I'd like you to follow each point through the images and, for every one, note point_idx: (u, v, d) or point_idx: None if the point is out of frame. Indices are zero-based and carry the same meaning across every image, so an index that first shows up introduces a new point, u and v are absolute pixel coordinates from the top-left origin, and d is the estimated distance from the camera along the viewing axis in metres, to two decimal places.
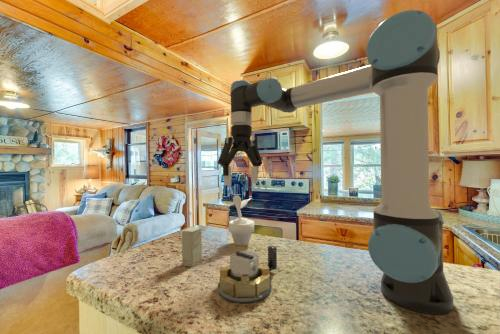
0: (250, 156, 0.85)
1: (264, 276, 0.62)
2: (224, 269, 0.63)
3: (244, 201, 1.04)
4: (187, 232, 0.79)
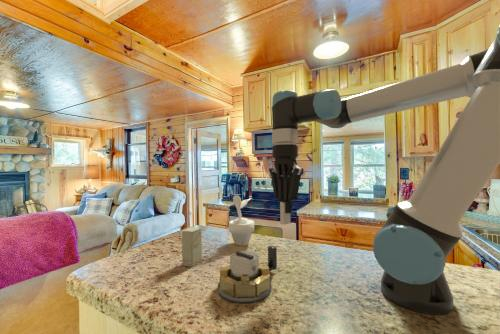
0: None
1: (264, 276, 0.62)
2: (224, 269, 0.63)
3: (244, 201, 1.04)
4: (187, 232, 0.79)
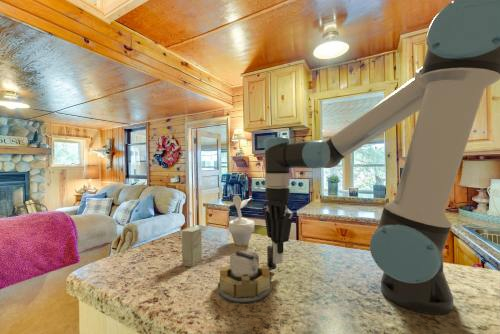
0: None
1: (264, 276, 0.62)
2: (224, 269, 0.63)
3: (244, 201, 1.04)
4: (187, 232, 0.79)
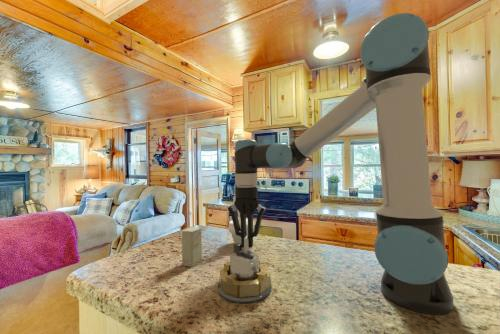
0: None
1: (262, 267, 0.67)
2: (233, 276, 0.59)
3: None
4: (187, 232, 0.79)
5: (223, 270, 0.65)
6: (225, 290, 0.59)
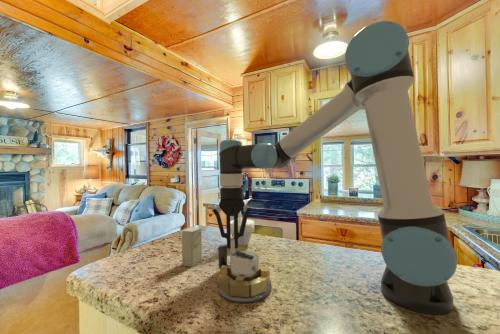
0: (234, 222, 0.76)
1: None
2: (241, 277, 0.58)
3: (244, 201, 1.04)
4: (187, 232, 0.79)
5: (222, 274, 0.63)
6: (234, 293, 0.58)
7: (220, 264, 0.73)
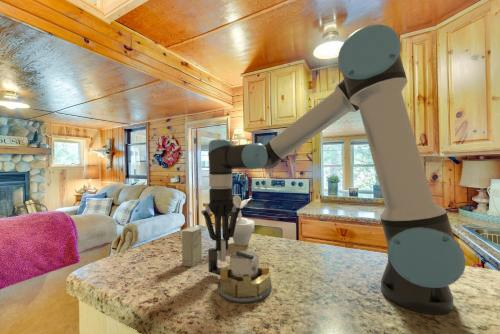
0: (223, 223, 0.74)
1: None
2: (248, 277, 0.59)
3: (244, 201, 1.04)
4: (187, 232, 0.79)
5: (223, 277, 0.61)
6: (242, 294, 0.57)
7: (211, 268, 0.71)
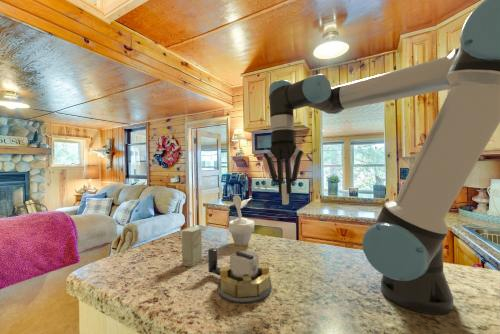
0: None
1: None
2: (248, 277, 0.59)
3: (244, 201, 1.04)
4: (187, 232, 0.79)
5: (223, 277, 0.61)
6: (242, 294, 0.57)
7: (211, 268, 0.71)
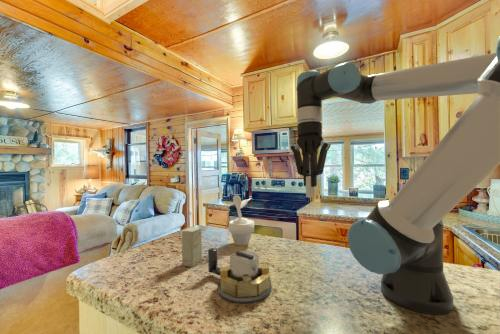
0: None
1: None
2: (248, 277, 0.59)
3: (244, 201, 1.04)
4: (187, 232, 0.79)
5: (223, 277, 0.61)
6: (242, 294, 0.57)
7: (211, 268, 0.71)
